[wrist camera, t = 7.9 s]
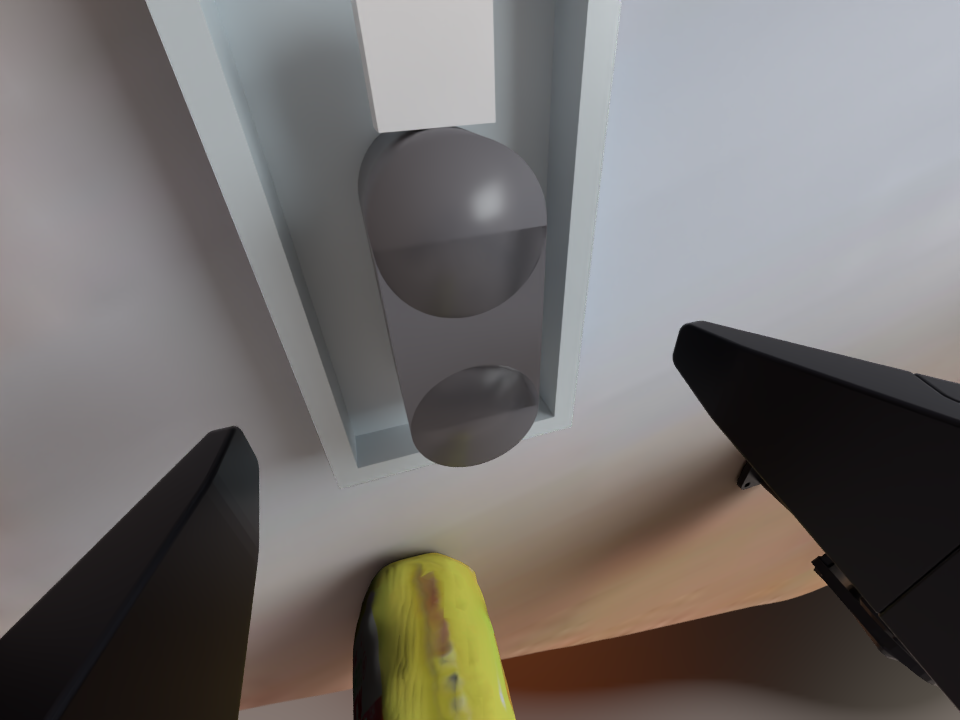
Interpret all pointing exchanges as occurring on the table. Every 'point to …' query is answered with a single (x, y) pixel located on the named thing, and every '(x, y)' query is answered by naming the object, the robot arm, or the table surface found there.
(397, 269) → the plug
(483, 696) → the bottle
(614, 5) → the dock tray
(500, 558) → the table surface
